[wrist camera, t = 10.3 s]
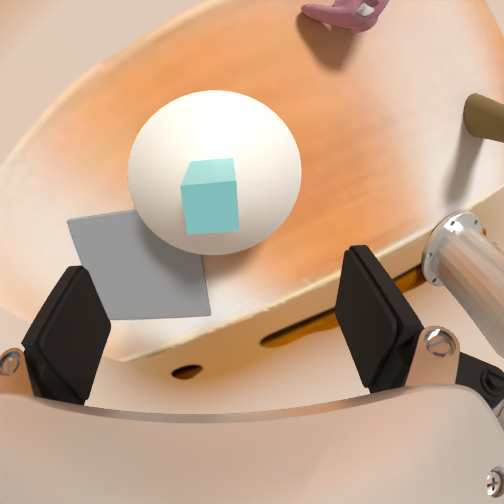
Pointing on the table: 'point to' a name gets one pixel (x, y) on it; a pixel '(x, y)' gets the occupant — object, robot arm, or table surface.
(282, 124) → the lid
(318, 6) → the video game controller
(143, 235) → the mat
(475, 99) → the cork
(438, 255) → the robot arm
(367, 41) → the table surface
